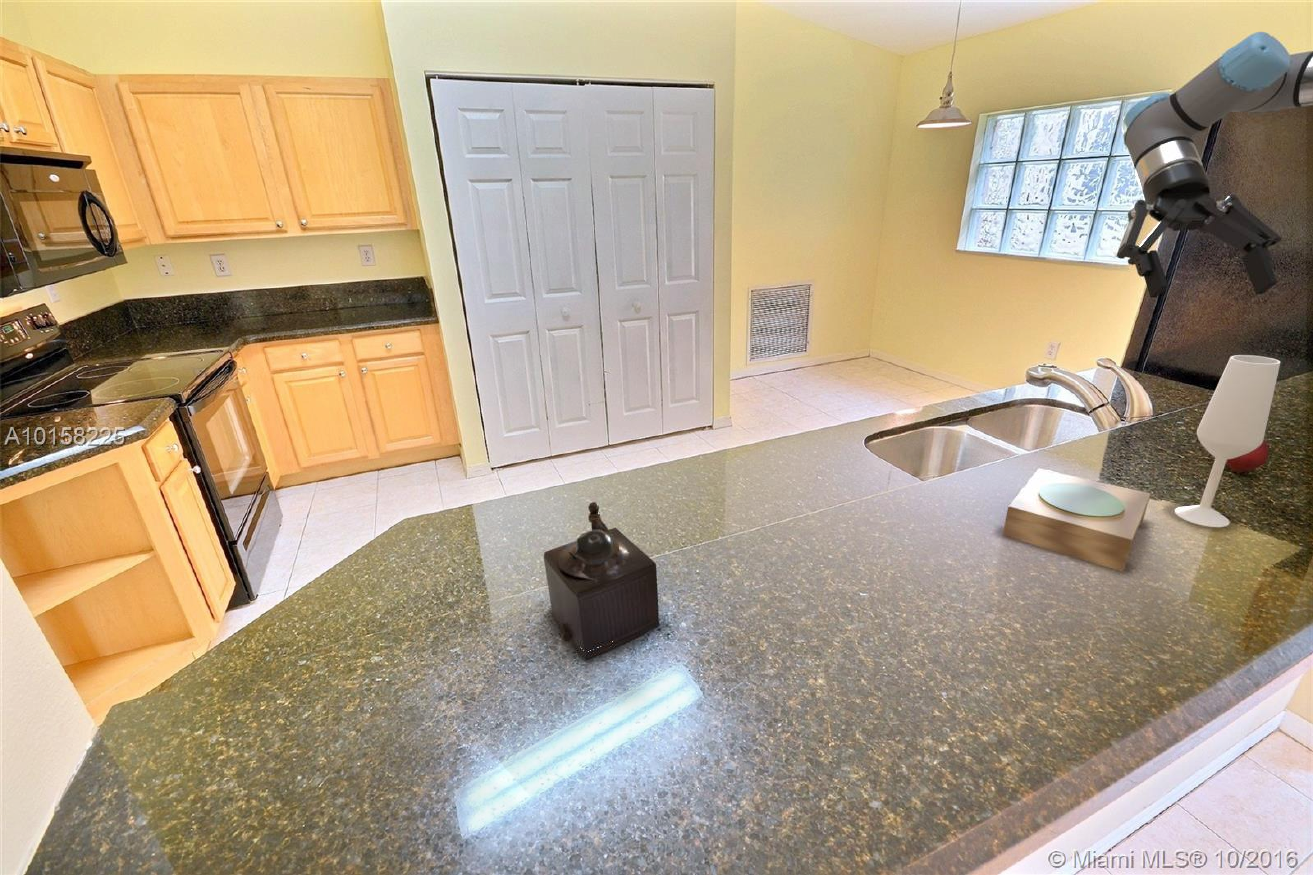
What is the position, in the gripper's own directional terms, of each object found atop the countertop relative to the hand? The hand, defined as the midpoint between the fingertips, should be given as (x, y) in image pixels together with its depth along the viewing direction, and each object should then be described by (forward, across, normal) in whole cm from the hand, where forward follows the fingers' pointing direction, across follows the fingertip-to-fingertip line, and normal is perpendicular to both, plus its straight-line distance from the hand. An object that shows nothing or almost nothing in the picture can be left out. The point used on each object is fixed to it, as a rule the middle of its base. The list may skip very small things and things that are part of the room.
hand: (1212, 290), depth 83 cm
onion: (+19, -15, -26) cm, 36 cm away
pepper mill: (+52, +82, +8) cm, 98 cm away
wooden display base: (+33, +19, -12) cm, 40 cm away
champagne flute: (+30, 0, -15) cm, 33 cm away
